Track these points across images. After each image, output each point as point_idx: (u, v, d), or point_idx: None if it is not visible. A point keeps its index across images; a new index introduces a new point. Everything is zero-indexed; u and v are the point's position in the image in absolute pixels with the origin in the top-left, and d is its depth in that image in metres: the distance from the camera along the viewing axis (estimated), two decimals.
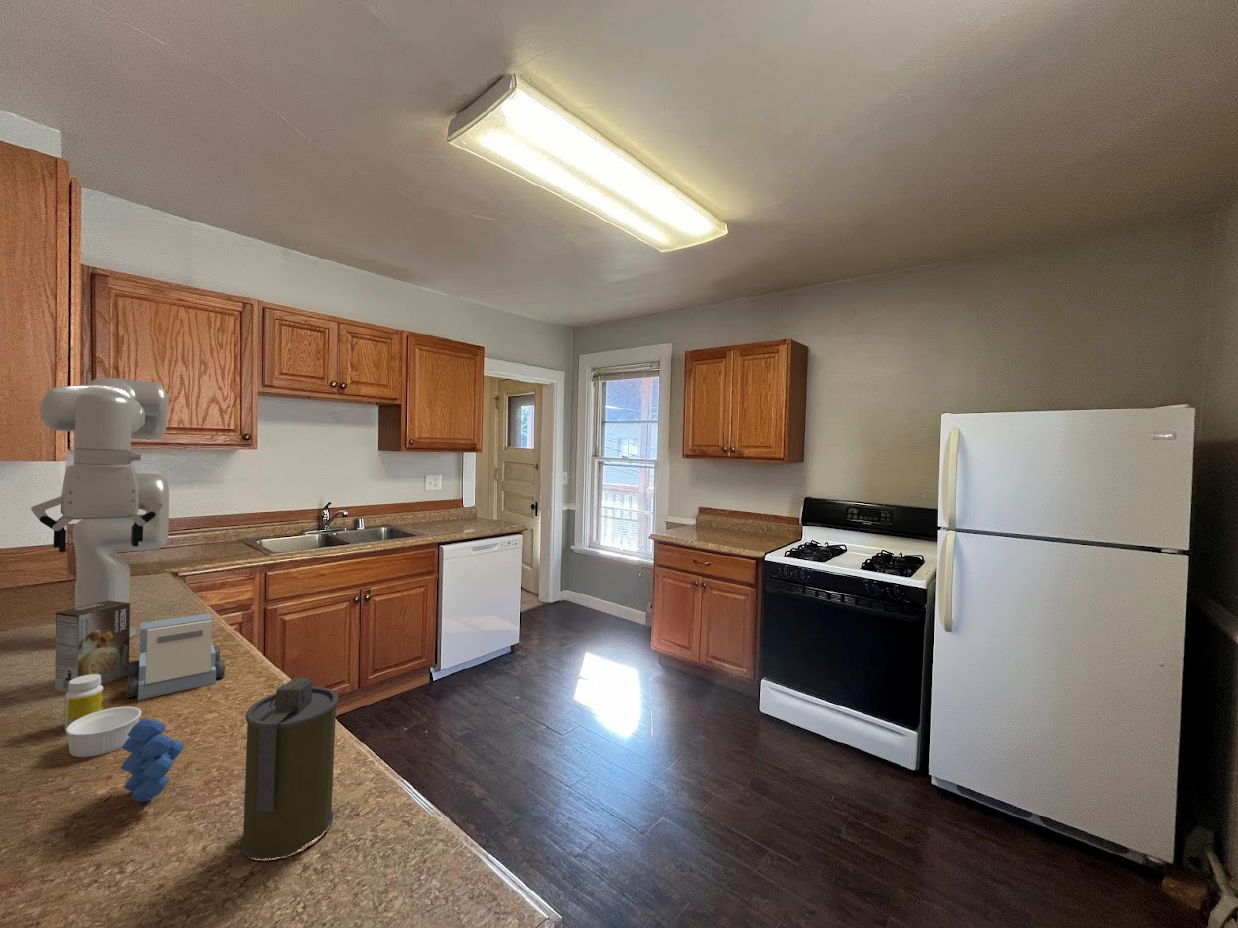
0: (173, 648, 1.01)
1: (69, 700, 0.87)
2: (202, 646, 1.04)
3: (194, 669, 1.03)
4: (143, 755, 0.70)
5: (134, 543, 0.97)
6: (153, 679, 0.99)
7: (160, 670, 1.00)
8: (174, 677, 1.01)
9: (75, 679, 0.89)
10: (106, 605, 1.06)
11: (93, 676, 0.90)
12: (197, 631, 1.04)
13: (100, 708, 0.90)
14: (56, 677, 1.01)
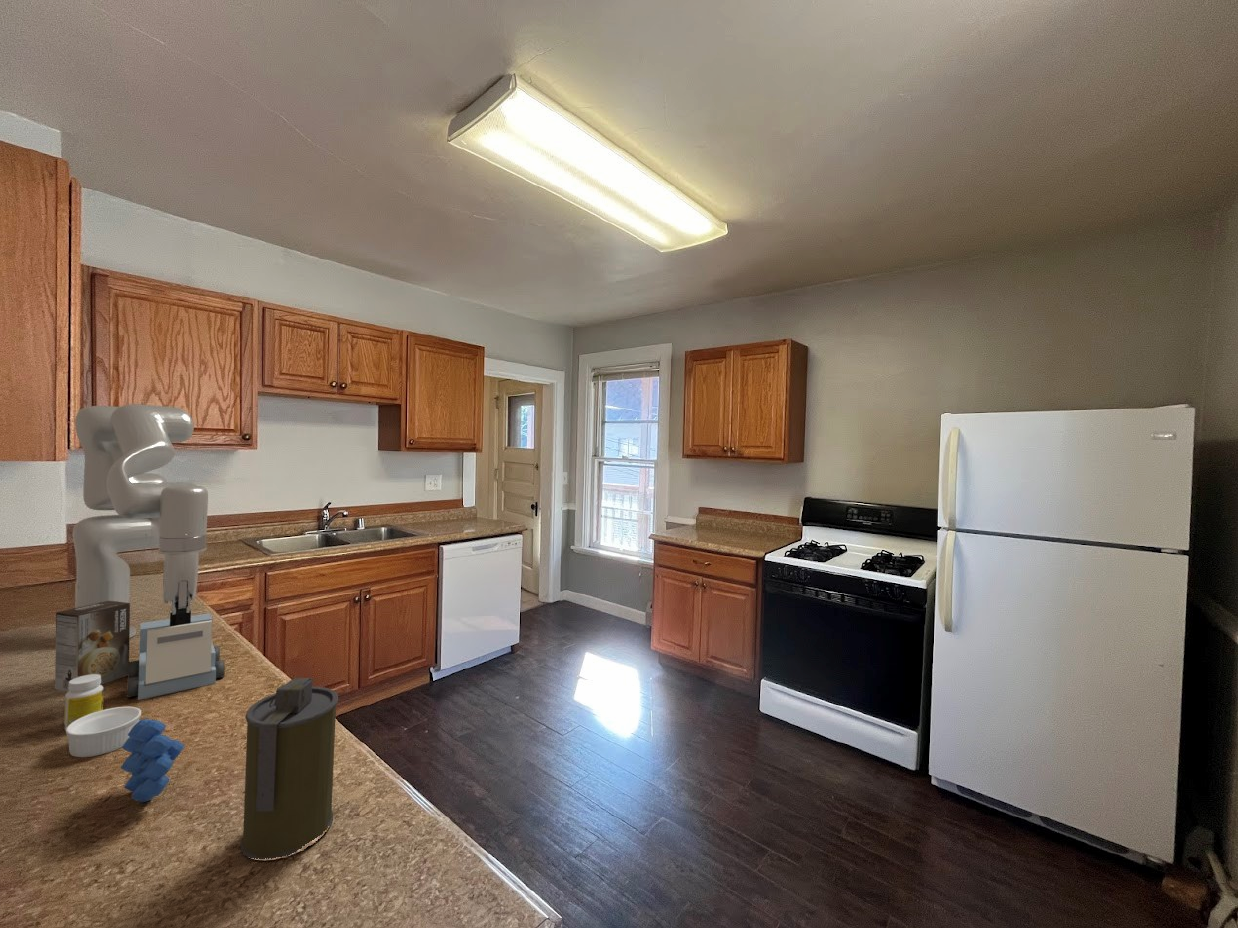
0: (173, 648, 1.01)
1: (69, 700, 0.87)
2: (202, 646, 1.04)
3: (194, 669, 1.03)
4: (143, 755, 0.70)
5: None
6: (153, 679, 0.99)
7: (160, 670, 1.00)
8: (174, 677, 1.01)
9: (75, 679, 0.89)
10: (106, 605, 1.06)
11: (93, 676, 0.90)
12: (197, 631, 1.04)
13: (100, 708, 0.90)
14: (56, 677, 1.01)
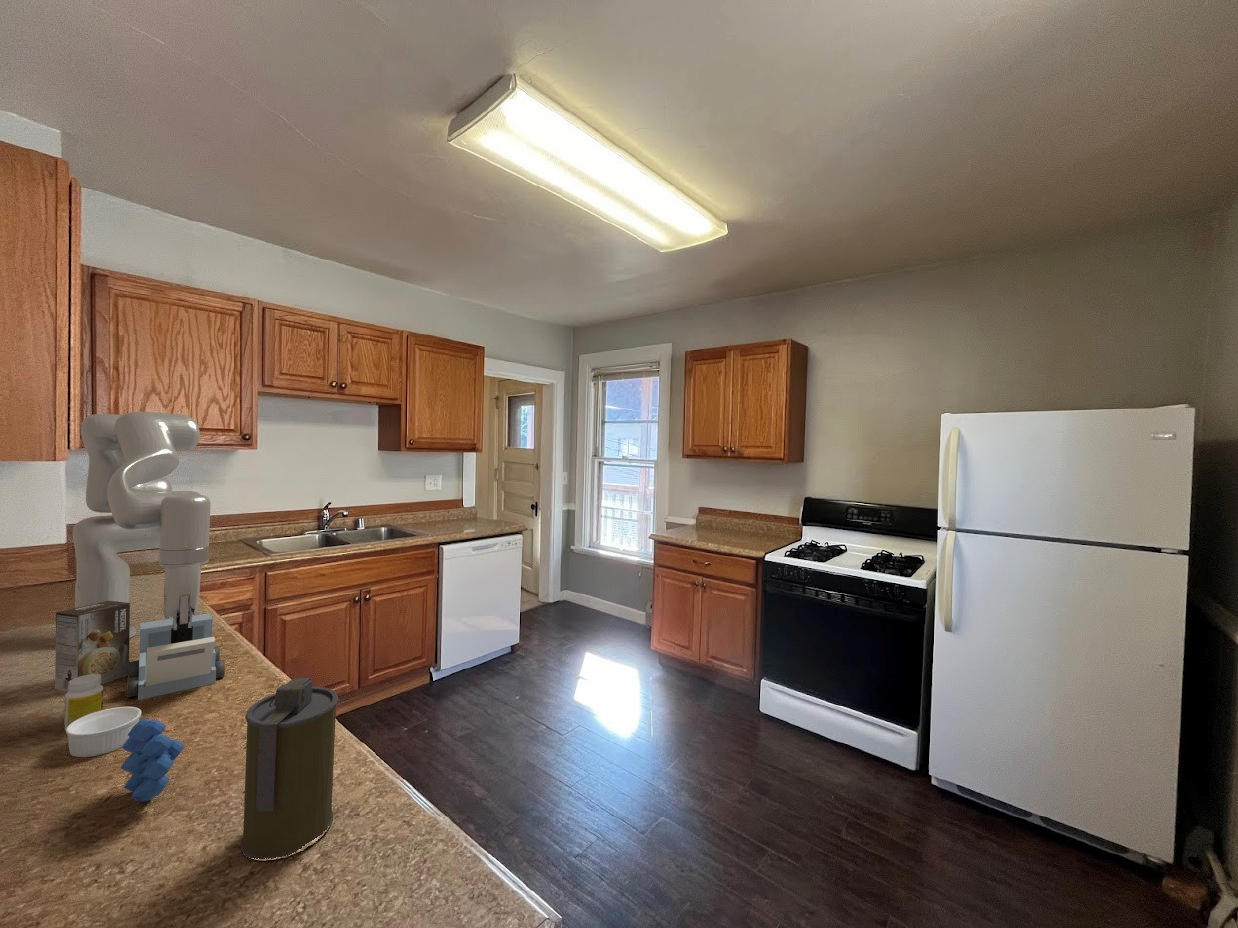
0: (173, 662, 0.98)
1: (69, 700, 0.87)
2: (203, 658, 1.02)
3: (194, 673, 1.03)
4: (143, 755, 0.70)
5: None
6: (153, 683, 0.99)
7: (160, 677, 0.99)
8: (174, 680, 1.01)
9: (75, 679, 0.89)
10: (106, 605, 1.06)
11: (93, 676, 0.90)
12: (199, 649, 1.00)
13: (100, 708, 0.90)
14: (56, 677, 1.01)
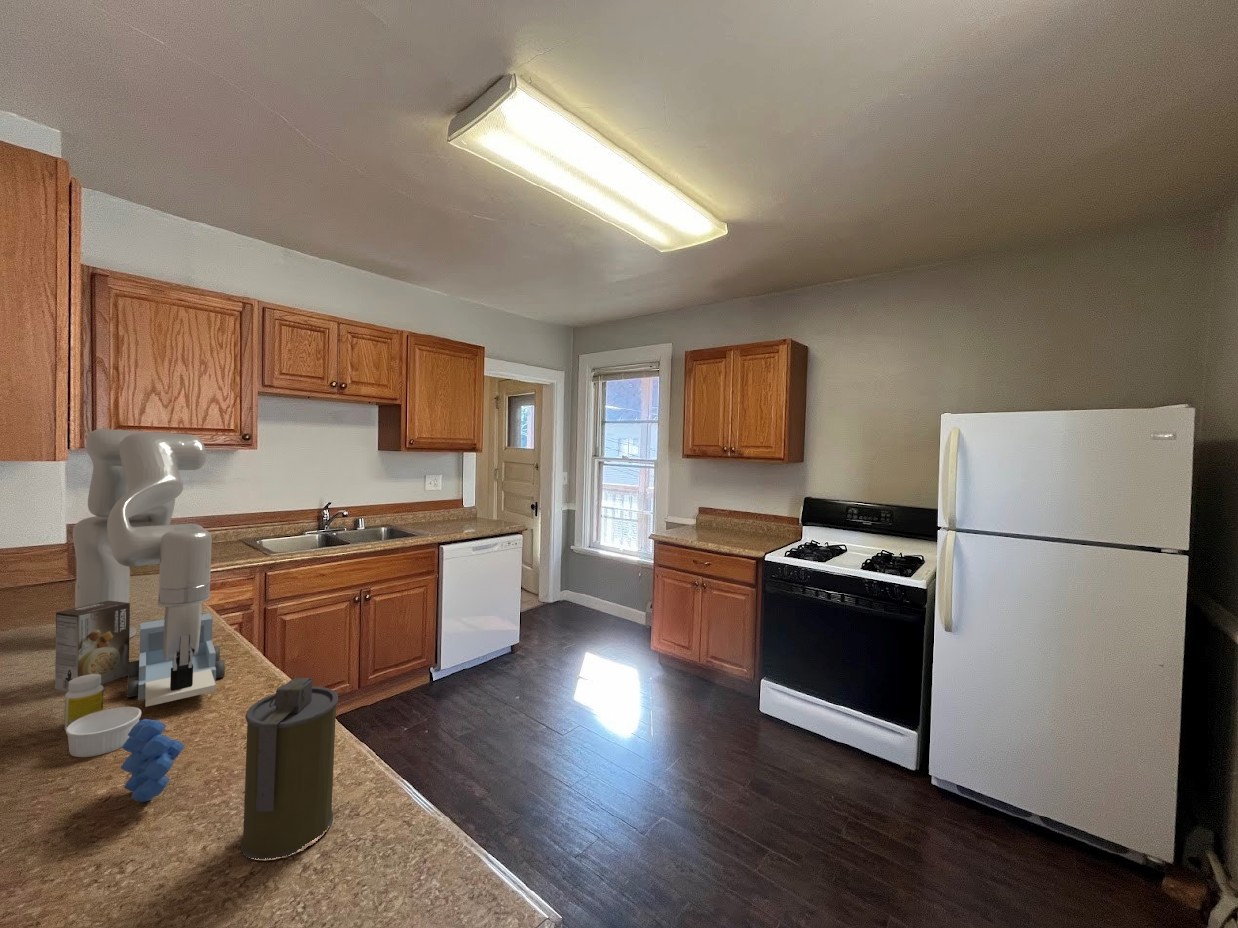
0: None
1: (69, 700, 0.87)
2: None
3: None
4: (143, 755, 0.70)
5: None
6: None
7: None
8: None
9: (75, 679, 0.89)
10: (106, 605, 1.06)
11: (93, 676, 0.90)
12: None
13: (100, 708, 0.90)
14: (56, 677, 1.01)
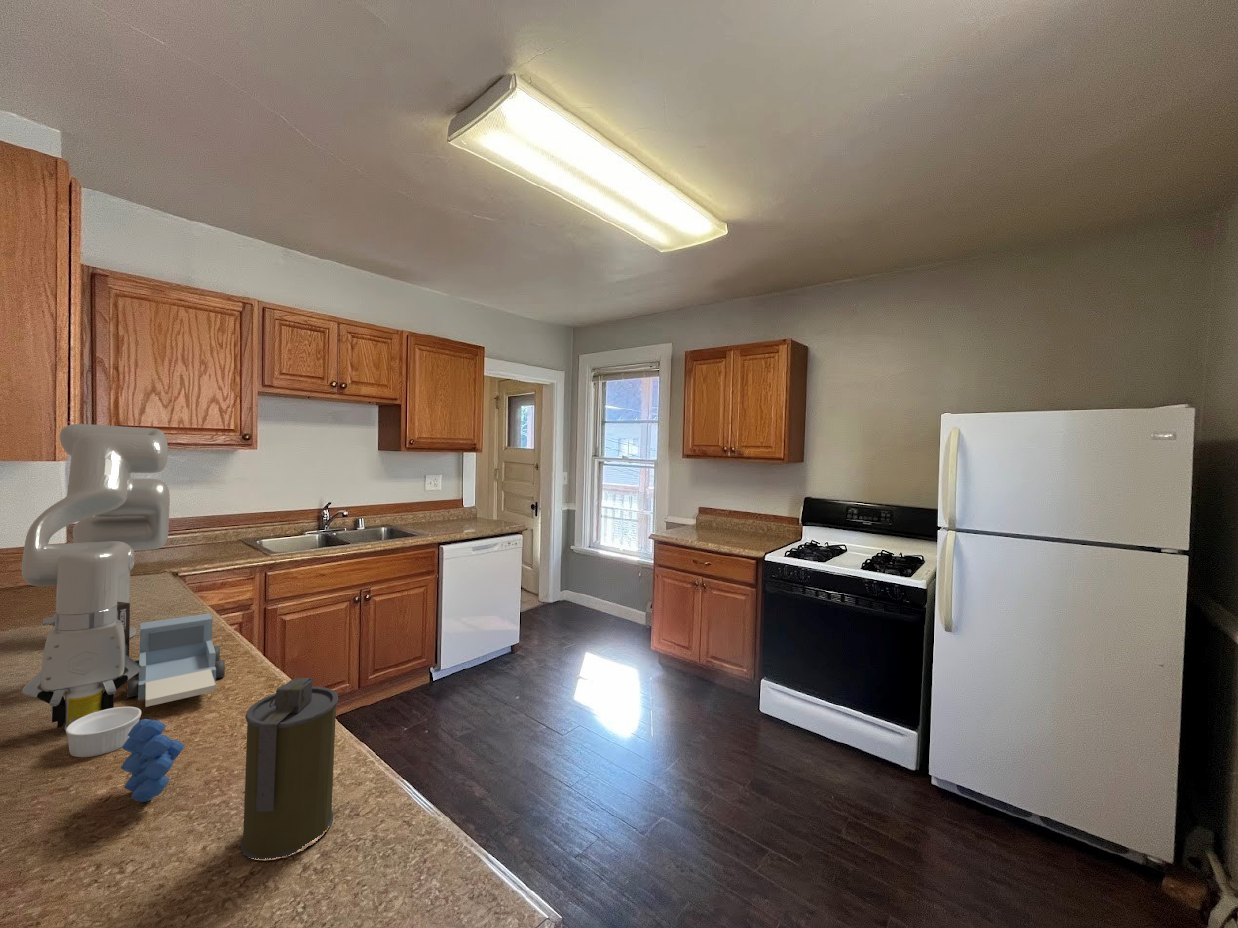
0: None
1: (69, 700, 0.87)
2: None
3: None
4: (143, 755, 0.70)
5: None
6: None
7: None
8: None
9: None
10: None
11: None
12: None
13: (100, 708, 0.90)
14: None
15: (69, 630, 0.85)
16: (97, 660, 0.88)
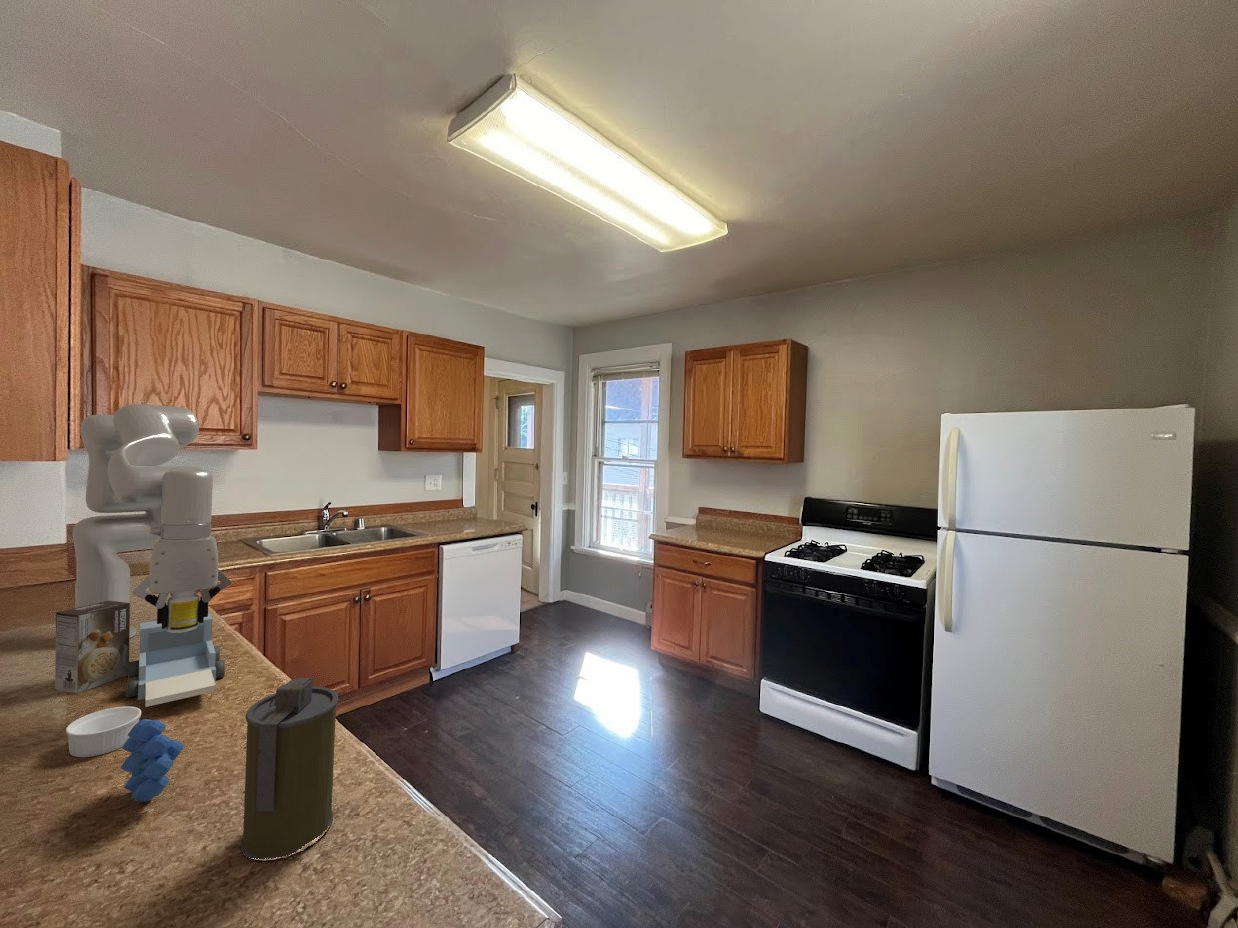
0: None
1: (172, 604, 0.95)
2: None
3: None
4: (143, 755, 0.70)
5: None
6: None
7: None
8: None
9: None
10: (106, 605, 1.06)
11: None
12: None
13: (197, 614, 0.98)
14: (56, 677, 1.01)
15: (173, 539, 0.94)
16: (196, 569, 0.97)
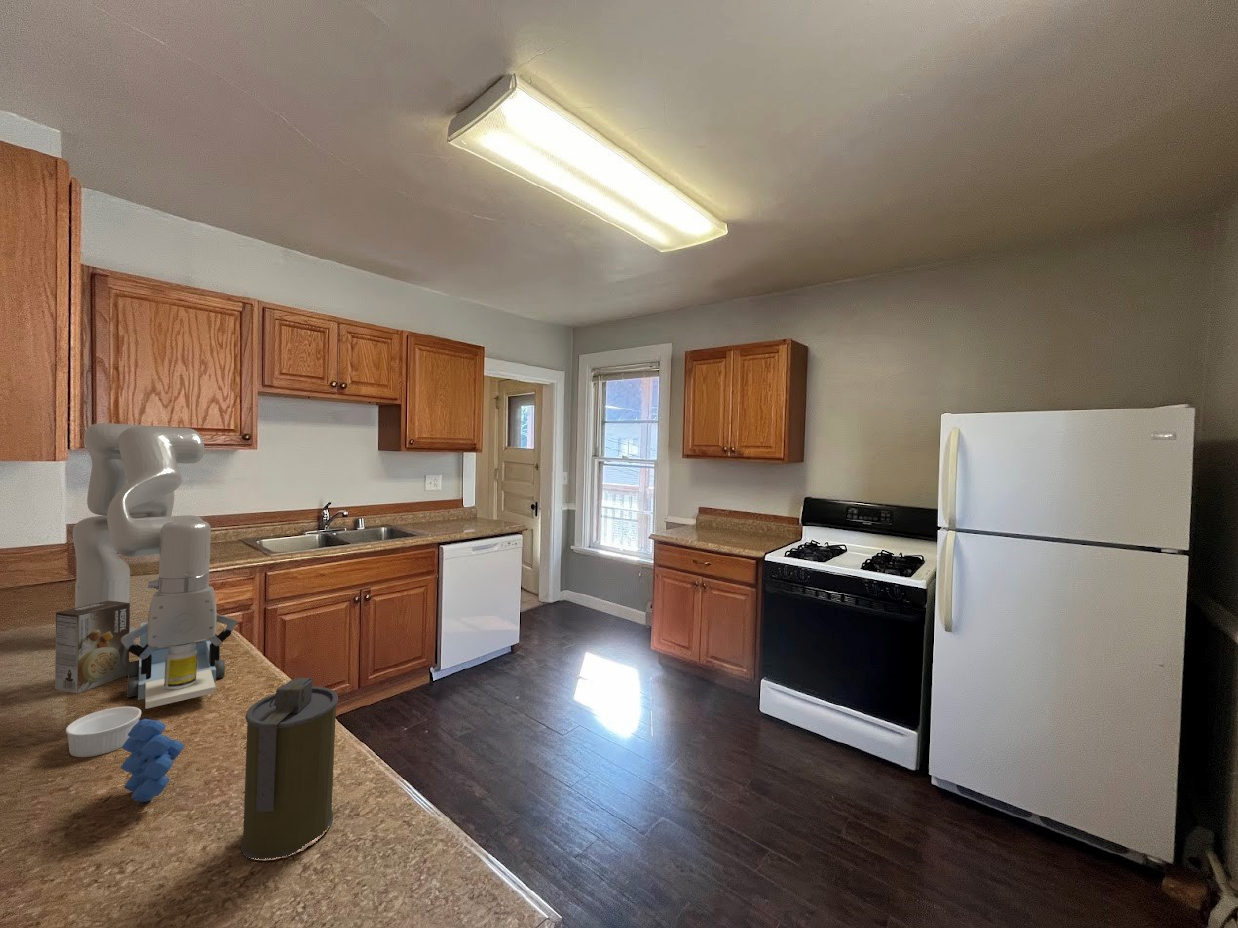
0: None
1: (170, 661, 0.96)
2: None
3: None
4: (143, 755, 0.70)
5: None
6: None
7: None
8: None
9: None
10: (106, 605, 1.06)
11: None
12: None
13: (195, 670, 0.99)
14: (56, 677, 1.01)
15: (172, 593, 0.94)
16: (194, 621, 0.97)
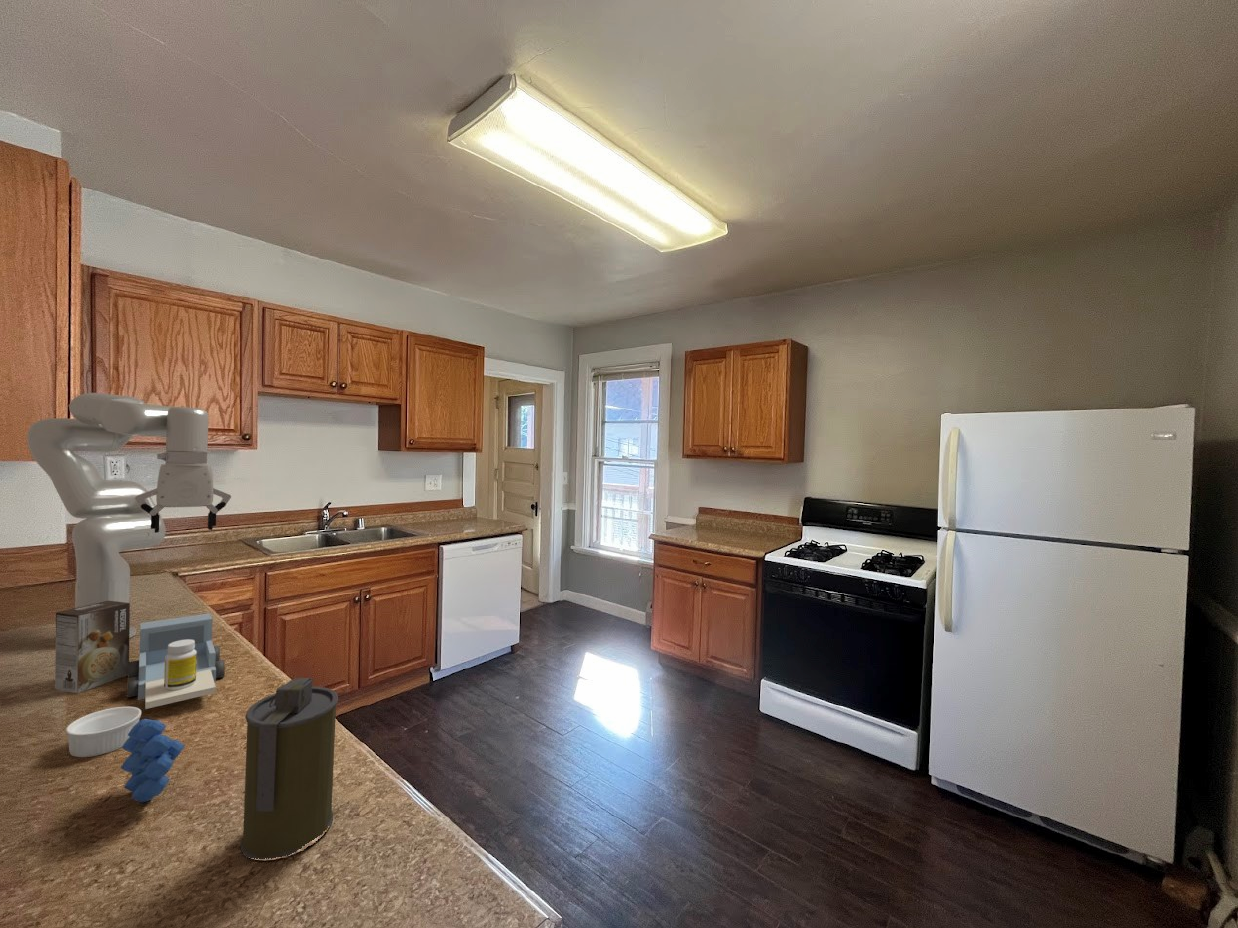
0: None
1: (169, 661, 0.95)
2: None
3: None
4: (143, 755, 0.70)
5: None
6: None
7: None
8: None
9: (173, 643, 0.97)
10: (106, 605, 1.06)
11: (188, 641, 0.99)
12: None
13: (194, 670, 0.98)
14: (56, 677, 1.01)
15: (176, 463, 1.15)
16: (195, 489, 1.18)
